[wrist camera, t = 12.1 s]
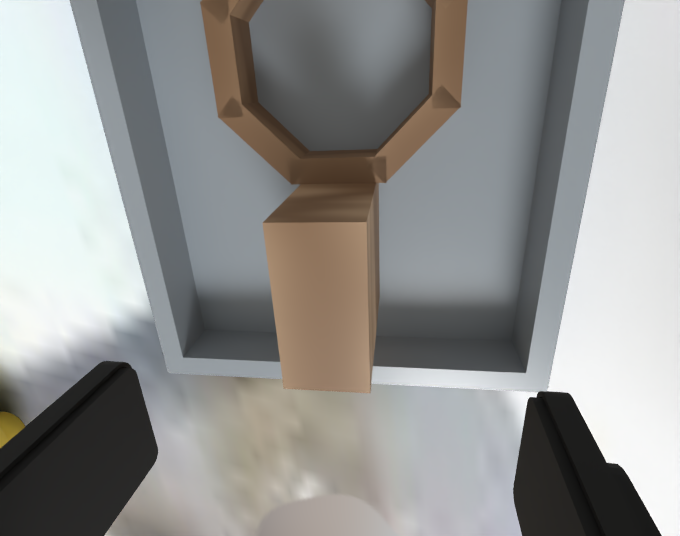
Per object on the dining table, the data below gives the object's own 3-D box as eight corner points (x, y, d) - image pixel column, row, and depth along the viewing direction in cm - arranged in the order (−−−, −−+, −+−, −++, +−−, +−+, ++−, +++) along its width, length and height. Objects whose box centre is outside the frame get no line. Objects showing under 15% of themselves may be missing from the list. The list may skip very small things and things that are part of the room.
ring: (467, -102, 14) (524, -263, 7) (443, 297, 20) (462, 397, 13) (210, -74, 15) (70, -189, 9) (261, 293, 21) (201, 384, 15)
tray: (631, -272, 12) (698, -375, 9) (527, 352, 21) (546, 392, 18) (78, -184, 15) (5, -246, 12) (195, 339, 23) (168, 373, 21)
